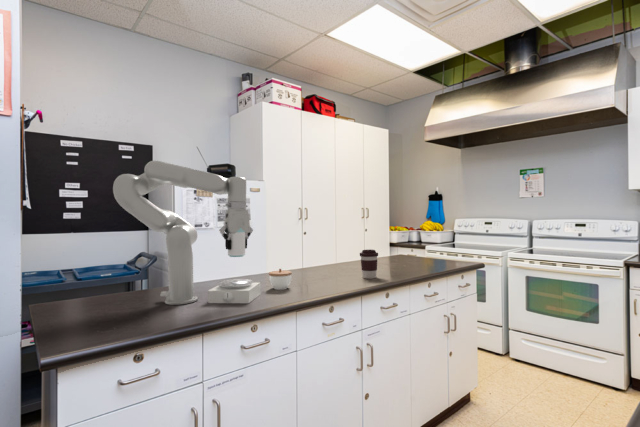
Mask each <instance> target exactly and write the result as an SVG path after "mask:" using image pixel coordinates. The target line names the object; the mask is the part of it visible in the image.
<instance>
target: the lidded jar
mask: <svg viewBox="0 0 640 427" xmlns="http://www.w3.org/2000/svg"><path fill="white" fill-rule="evenodd" d="M292 274H293V272H292V271H291V270H282V268H279V269H278V270H273V271H269V273H268V276H269V277H268V279H269V283H270V285H271V287H272V288H273V289H274V290H276V291H278V290H280V291H282V290H287V289H288V287H290V284H291V282H292Z"/></svg>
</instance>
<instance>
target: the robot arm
mask: <svg viewBox="0 0 640 427" xmlns="http://www.w3.org/2000/svg"><path fill="white" fill-rule="evenodd" d="M166 184H167V185H170V186H176V187H180V188H183V189H186V188H187V189H188V188H189V189H195V190H200V191H204V192H208V193H211V194H214V195H215V194H216V195H219V196H221V195H227V202H226V203H225V205H224V206H225V207H227V209H226V210H225V211H226V212H225V215H224V225H223V226H222V227H220V229H219V230H218V232H219V233H220V235H221V236H222V238H223V239H224V240H225V245H224V246H225V249H226V250H227V251H228V250H231V243H232V241H231V240H230V238H231V236H232V233H233V234H235V233H236V232H237V231H238V230H240V229H239V228H242V230H244V231H245V249H248V239H249V238H250V236H251V234H252V233H253V231H254V229H253V228H252V226H251V225H250V214H249V210H248V209H247V179H246V178H245V177H243V176H230V177H223V176H222V175H219V174H216V173H213V172H207V171H204V170H198V169H194V168H190V167H187V166H182V165H179V164H173V163H170V162H169V163H168V162H165V161H164V162H163V161H162V160H161V161H160V160H150V161H149V162H147V163H146V164H145V165H144V172H143V173H142V174H140V175H135V174H132V173H122V174H120V175H118V176H117V177H116V178H115V180H114V181H113V186H112V193H113V197H114V199H115V200H116V202H117V203H118V205H119V206H120V207H122V209H124V211H126V212H127V213H128V214H130V215H132V216H133V217H134V218H136V219H137V221H140V223H142V224H144V225H145V226H146V227H148V228H149V229H150V230H151V231H153V232H156V233H164V234H166V236H165V242H166V248H167V249H166V250H167V266H168V267H167V269H168V290H167V291H161V292H160V296H159V297H160V298H164V297H165V300H164V304H165V305H170V306H171V305H172V306H175V305H176V306H177V305H178V306H179V305H187V304H191V303H195V302H196V301H198V296H197V295H195V294H194V290H195V288H194V256H193V255H194V254H193V247H192V245H193V244H194V243H196V241H197V239H198V231H197V229H196V228H195V227H194V226H193V225H192V224H191V223H189V222H187V221H186V220H185V219H184V218H182V217H181V216H180V215H178V214H176V212H174V211H172V210H169V209H164V208H163V209H162V208H160V207H158V206H157V205H155V204H154V203H152V202H151V201H150V200H149V199H147V198H146V197H144V196H145V195H146V194H149V193H150V192H153V191H155V190H156V189H159V188H161V187H162V186H164V185H166Z"/></svg>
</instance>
